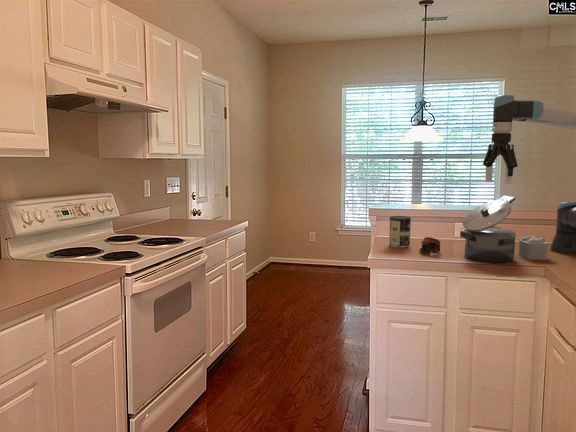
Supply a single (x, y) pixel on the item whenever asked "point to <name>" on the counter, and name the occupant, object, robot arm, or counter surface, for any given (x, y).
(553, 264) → the counter surface
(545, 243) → the lumpy-topped squat cylinder
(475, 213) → the lid
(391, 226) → the coffee can
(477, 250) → the pot
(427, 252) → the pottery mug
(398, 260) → the counter surface
